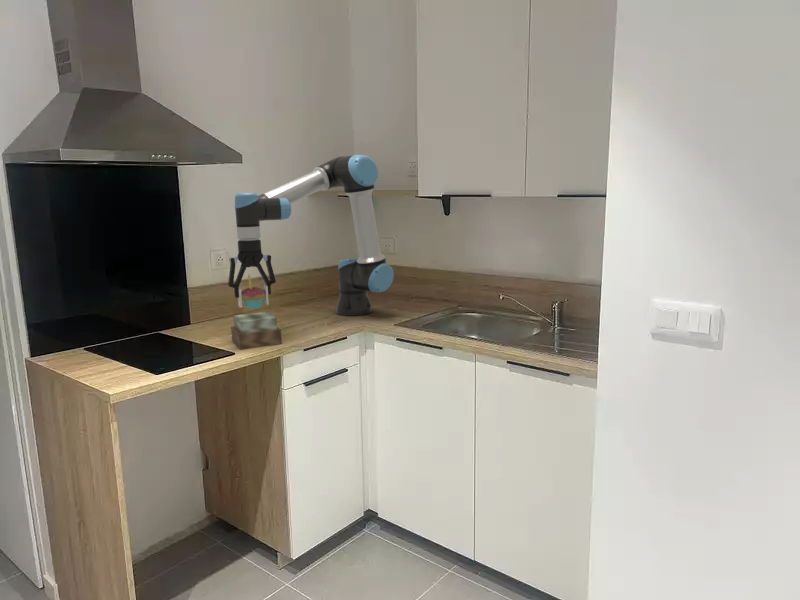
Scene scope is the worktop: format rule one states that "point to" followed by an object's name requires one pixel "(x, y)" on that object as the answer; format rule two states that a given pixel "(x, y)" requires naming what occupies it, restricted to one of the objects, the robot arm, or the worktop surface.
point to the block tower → (255, 330)
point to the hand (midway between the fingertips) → (253, 305)
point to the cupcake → (253, 296)
